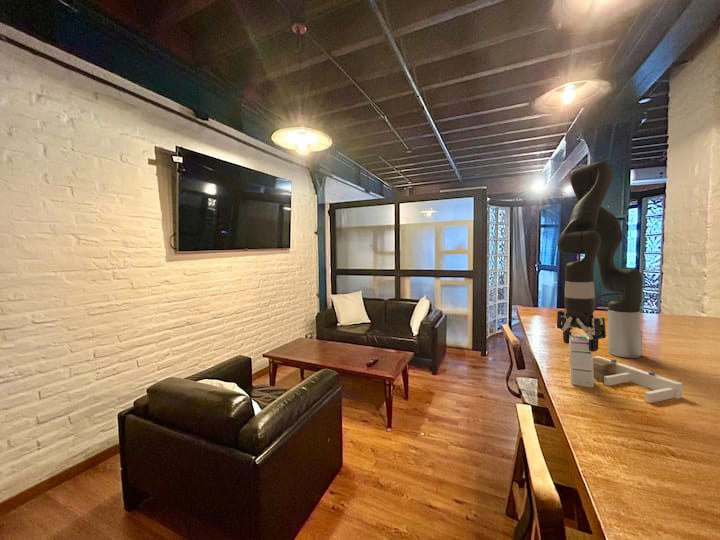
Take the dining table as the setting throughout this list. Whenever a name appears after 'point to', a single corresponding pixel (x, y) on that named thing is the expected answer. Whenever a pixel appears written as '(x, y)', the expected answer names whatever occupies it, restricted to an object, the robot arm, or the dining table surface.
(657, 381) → the notch rail
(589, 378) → the syrup box
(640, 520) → the dining table surface
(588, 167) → the robot arm
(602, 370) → the walnut block
